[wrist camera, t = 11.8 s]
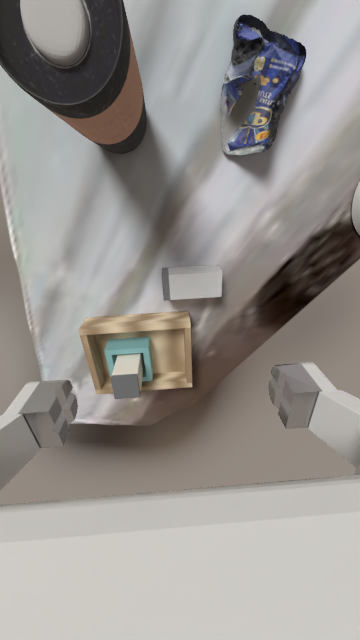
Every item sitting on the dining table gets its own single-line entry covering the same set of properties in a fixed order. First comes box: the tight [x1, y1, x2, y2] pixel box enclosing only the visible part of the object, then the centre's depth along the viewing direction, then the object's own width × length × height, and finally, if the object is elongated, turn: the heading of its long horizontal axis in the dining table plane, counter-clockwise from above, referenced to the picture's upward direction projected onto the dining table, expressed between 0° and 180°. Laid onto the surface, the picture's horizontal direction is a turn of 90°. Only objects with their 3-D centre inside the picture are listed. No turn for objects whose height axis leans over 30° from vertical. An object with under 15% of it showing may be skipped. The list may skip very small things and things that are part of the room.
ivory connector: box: [111, 353, 144, 399], centre depth 41 cm, size 4×4×9 cm
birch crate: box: [79, 311, 192, 394], centre depth 44 cm, size 18×14×4 cm
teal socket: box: [104, 337, 153, 381], centre depth 44 cm, size 7×7×4 cm
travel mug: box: [0, 0, 146, 153], centre depth 21 cm, size 8×8×20 cm
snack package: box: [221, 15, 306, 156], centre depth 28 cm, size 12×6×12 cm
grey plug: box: [162, 265, 222, 300], centre depth 38 cm, size 9×4×4 cm, turn 93°
